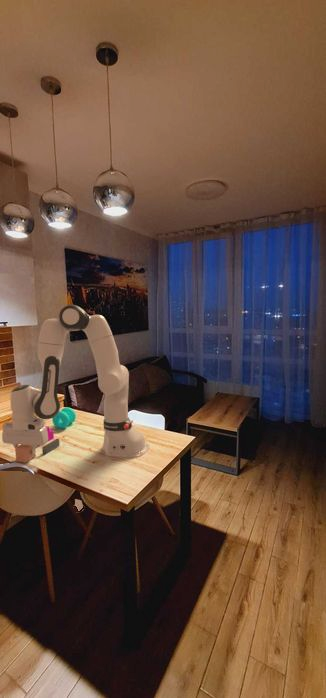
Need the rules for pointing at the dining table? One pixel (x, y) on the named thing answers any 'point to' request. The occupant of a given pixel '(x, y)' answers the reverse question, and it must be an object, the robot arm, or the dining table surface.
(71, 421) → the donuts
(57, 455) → the dining table surface
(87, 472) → the dining table surface
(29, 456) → the terracotta block
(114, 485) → the dining table surface
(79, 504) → the vase
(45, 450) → the guide channel
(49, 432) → the toy block
